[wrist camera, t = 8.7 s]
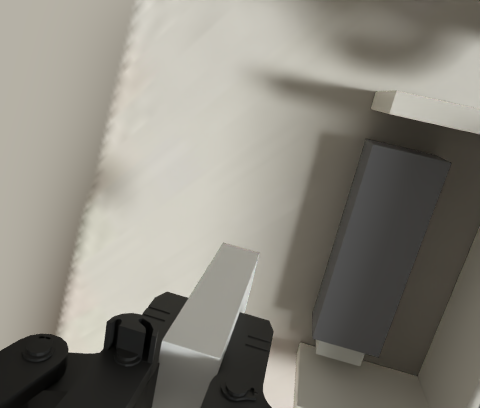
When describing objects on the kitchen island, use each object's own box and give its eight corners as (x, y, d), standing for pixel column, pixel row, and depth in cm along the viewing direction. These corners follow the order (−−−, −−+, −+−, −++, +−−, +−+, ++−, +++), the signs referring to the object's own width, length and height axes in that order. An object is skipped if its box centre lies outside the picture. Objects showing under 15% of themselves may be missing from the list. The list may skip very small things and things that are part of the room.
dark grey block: (365, 138, 24) (373, 144, 21) (434, 154, 24) (451, 162, 21) (306, 330, 28) (306, 357, 25) (365, 347, 28) (371, 376, 25)
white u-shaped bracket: (375, 91, 23) (396, 90, 17) (540, 127, 22) (620, 139, 17) (296, 354, 28) (292, 420, 23) (427, 392, 27) (458, 471, 22)
